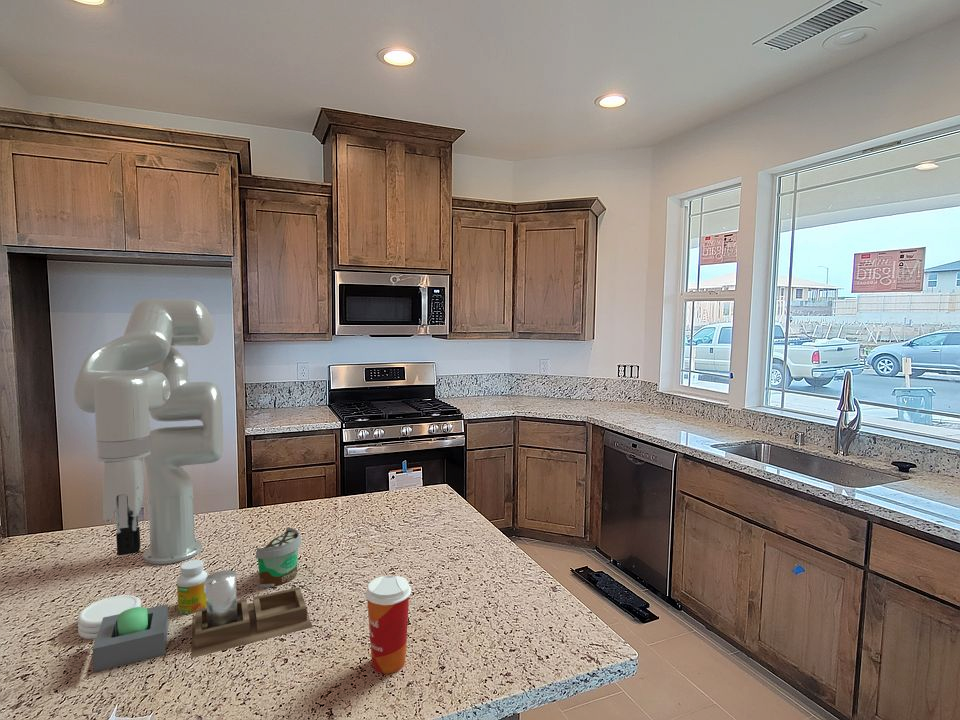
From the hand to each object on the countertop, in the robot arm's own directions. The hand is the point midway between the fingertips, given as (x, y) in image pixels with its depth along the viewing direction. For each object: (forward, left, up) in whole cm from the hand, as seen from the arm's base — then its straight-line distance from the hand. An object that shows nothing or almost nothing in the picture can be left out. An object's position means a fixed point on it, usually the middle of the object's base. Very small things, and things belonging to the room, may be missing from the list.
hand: (129, 552), depth 91 cm
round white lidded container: (-12, -5, -19) cm, 23 cm away
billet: (+1, +14, -17) cm, 22 cm away
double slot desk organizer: (+1, +19, -18) cm, 26 cm away
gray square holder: (0, 0, -18) cm, 18 cm away
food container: (-14, +27, -19) cm, 36 cm away
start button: (0, 0, -16) cm, 16 cm away
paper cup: (+23, +39, -19) cm, 49 cm away
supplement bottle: (-10, +9, -19) cm, 23 cm away
